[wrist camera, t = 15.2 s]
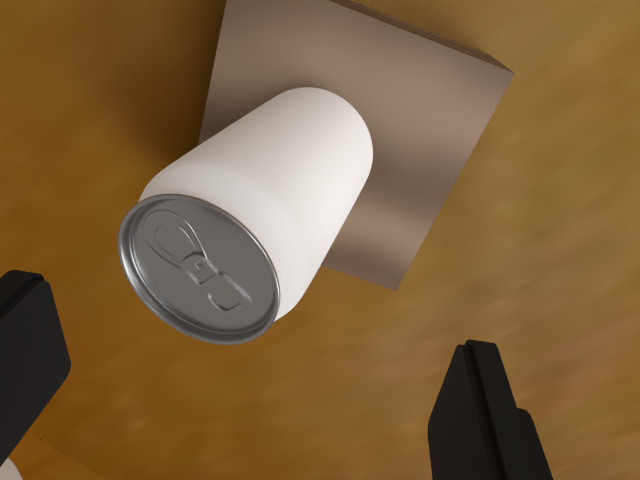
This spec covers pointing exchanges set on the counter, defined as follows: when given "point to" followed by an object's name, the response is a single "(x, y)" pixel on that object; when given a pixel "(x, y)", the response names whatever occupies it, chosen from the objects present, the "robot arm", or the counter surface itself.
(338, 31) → the walnut block
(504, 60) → the counter surface
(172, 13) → the counter surface
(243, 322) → the can
